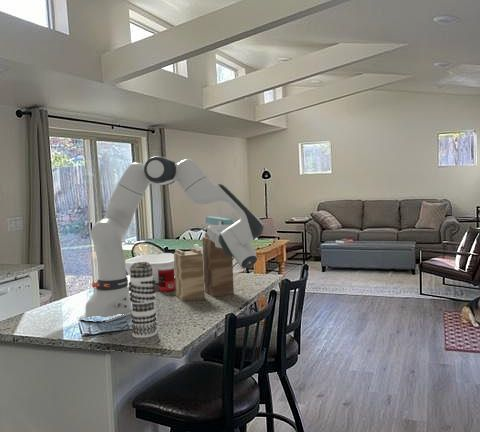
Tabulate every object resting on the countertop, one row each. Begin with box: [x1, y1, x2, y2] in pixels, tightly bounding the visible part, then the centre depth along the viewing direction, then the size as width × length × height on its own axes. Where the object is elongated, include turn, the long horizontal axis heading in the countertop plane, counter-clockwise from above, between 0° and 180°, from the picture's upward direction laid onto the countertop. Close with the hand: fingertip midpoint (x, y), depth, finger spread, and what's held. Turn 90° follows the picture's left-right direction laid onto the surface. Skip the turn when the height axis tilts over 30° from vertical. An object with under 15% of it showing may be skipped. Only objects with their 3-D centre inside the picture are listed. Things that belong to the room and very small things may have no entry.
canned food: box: [158, 266, 176, 293], centre depth 246 cm, size 8×8×11 cm
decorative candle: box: [128, 262, 158, 339], centre depth 176 cm, size 9×9×25 cm
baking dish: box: [125, 252, 175, 285], centre depth 269 cm, size 34×28×13 cm
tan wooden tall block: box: [173, 247, 206, 302], centre depth 230 cm, size 12×10×22 cm
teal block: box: [205, 215, 233, 226], centre depth 230 cm, size 26×4×3 cm, turn 22°
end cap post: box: [201, 232, 235, 298], centre depth 235 cm, size 12×10×28 cm
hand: (225, 221), depth 222 cm, fingers closed on teal block, 3 cm apart
